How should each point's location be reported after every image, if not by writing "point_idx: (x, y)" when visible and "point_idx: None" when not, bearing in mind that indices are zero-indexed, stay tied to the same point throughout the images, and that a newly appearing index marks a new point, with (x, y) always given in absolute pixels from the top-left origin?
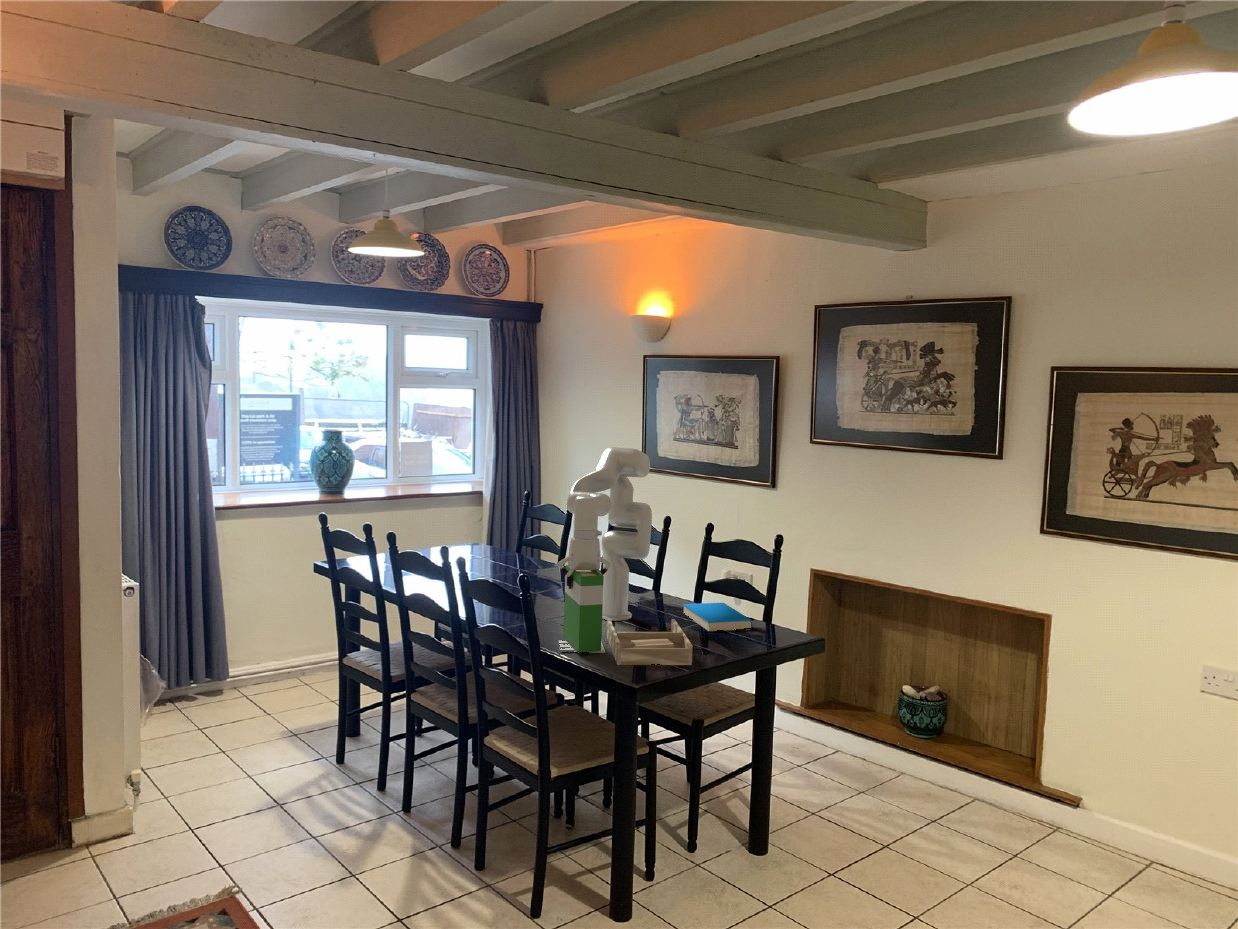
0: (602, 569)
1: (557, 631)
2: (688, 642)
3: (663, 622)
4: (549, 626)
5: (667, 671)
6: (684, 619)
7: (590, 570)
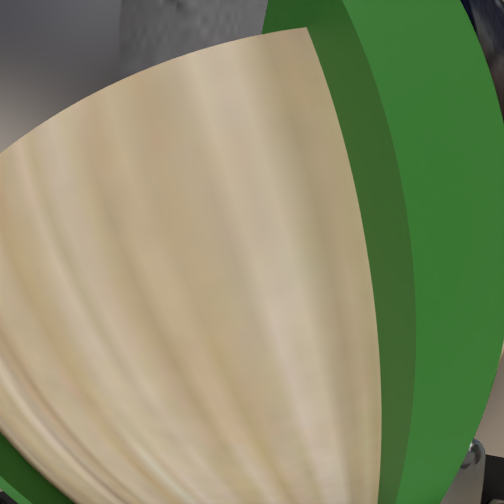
0: (496, 497)
1: (149, 64)
2: (501, 351)
3: (467, 5)
4: (126, 19)
5: None
6: (496, 2)
7: (378, 493)
